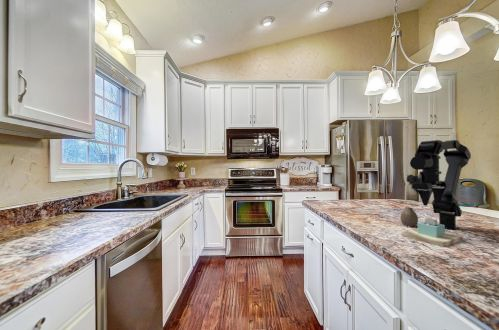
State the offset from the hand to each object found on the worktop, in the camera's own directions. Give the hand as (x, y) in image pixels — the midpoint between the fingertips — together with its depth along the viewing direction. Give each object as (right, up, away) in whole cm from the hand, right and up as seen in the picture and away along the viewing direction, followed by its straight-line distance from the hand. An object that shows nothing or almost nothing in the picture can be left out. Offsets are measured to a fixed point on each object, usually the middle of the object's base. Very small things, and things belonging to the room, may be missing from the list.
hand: (431, 204), depth 96 cm
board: (-6, -12, -8) cm, 16 cm away
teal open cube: (-6, -11, -7) cm, 14 cm away
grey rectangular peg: (-6, -11, -7) cm, 14 cm away
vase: (-2, -12, +10) cm, 16 cm away
